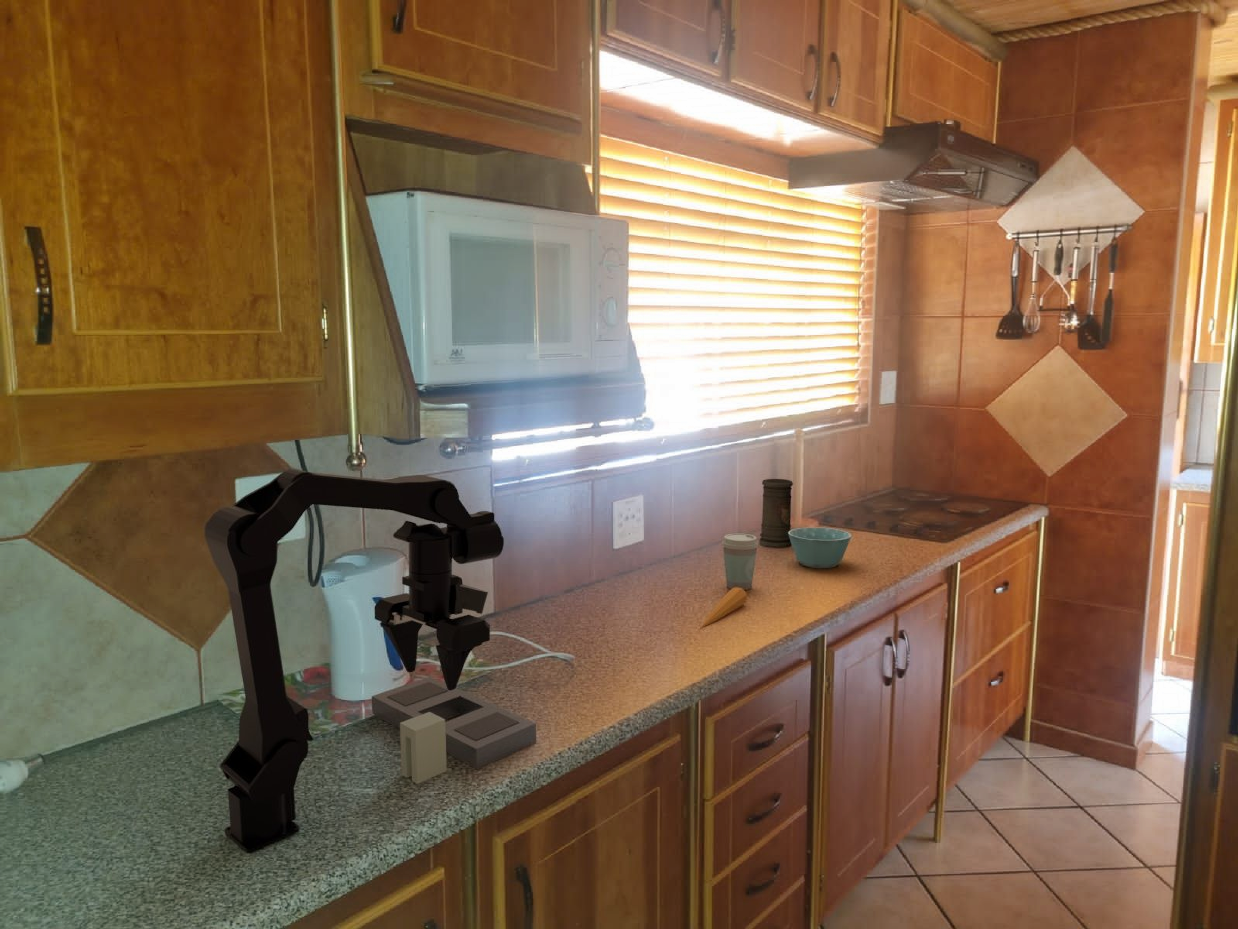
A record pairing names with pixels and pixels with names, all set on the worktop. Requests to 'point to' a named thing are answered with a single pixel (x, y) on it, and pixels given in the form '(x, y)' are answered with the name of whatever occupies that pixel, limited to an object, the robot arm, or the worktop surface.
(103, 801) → the worktop surface
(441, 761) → the beige slotted block
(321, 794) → the worktop surface
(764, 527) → the container
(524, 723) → the grey slotted tray
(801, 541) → the bowl
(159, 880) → the worktop surface
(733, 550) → the coffee cup
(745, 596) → the carrot
